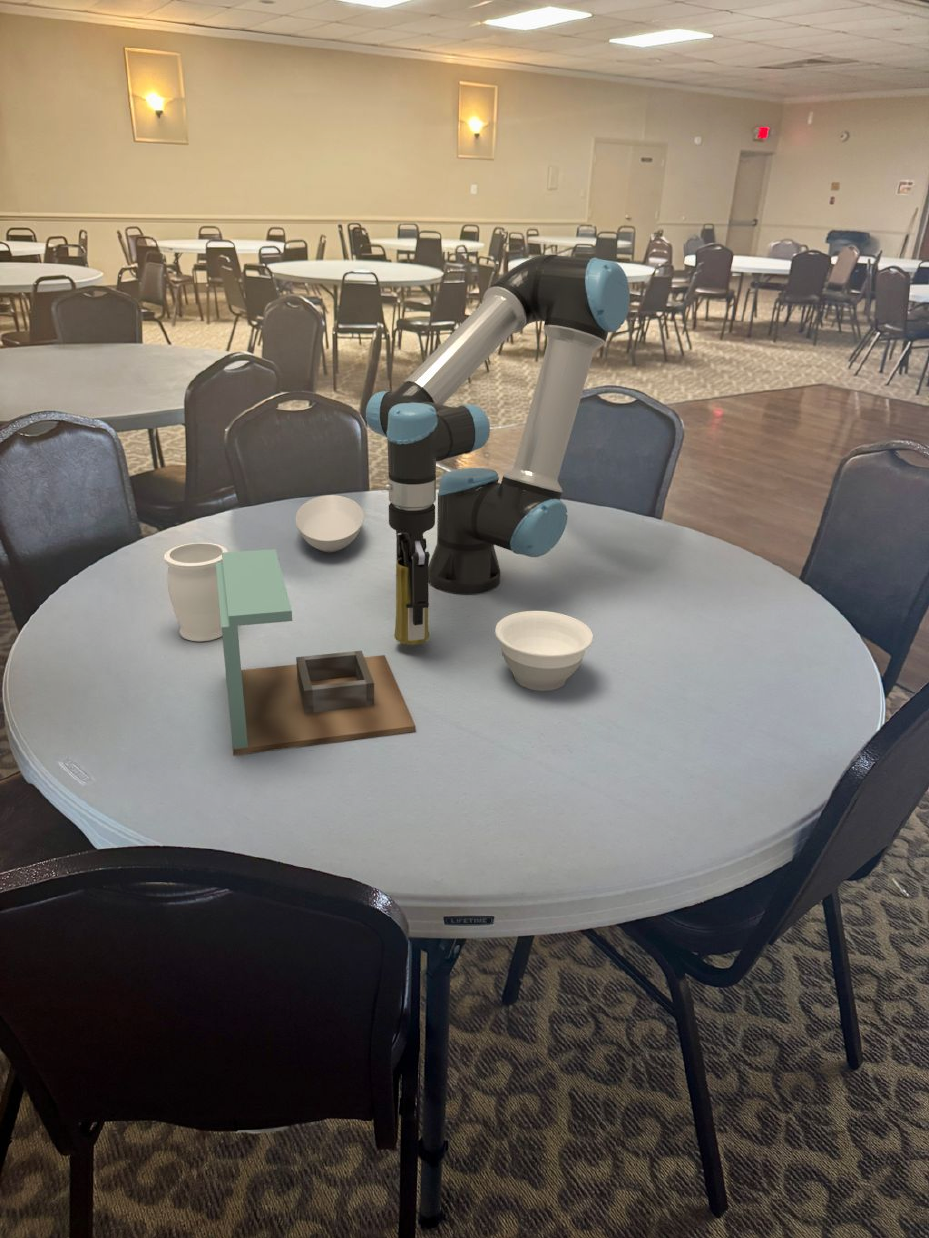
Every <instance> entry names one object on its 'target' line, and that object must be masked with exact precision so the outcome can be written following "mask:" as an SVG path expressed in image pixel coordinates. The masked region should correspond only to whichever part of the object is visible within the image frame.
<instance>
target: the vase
mask: <svg viewBox="0 0 929 1238" xmlns="http://www.w3.org/2000/svg"><path fill="white" fill-rule="evenodd" d="M395 567H396V569H395V582H396V583H395V607H396V608H395V623H394V624H395V626H394V627H395V628H394V635H393V636H394V637H393V638H394V639H395V640H396V641H397V642H398V643H400V644H403V645H407V646H416V645H421V644H424V643H426V642H427V641H428V640H429V638H430V631H429V630H430V629H429V628H430V627H429V607H428V608H425V639H421V640H412V641H409V640H408V608H406V604H410V597H409V583H408V567H407V566H405V565H404V563H403V562H402V558H399V559H398V560H397V562H396V563H395Z"/></svg>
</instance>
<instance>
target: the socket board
mask: <svg viewBox="0 0 929 1238" xmlns="http://www.w3.org/2000/svg"><path fill="white" fill-rule="evenodd" d="M295 658H296V661H295V662H296V663H295V664H285V665H278V666H276V665H275V666H267V667H265V666H264V667H257V668H246V669H241V673H242V685H243V697H244V708H245V720H246V732H247V744H248V748H240V749H233V748H232V753H233V755H232V756H239V755H246V754H253V753H263V752H269V751H277V750H278V751H279V750H285V749H292V748H300V747H308V746H316V745H323V744H331V743H337V742H338V743H339V742H347V741H355V740H361V739H368V738H369V739H371V738H377V737H384V736H385V737H386V736H392V735H401V734H406V733H407V734H408V733H414V732H416V724H415V722H414V719H413V717H412V715H411V713H410V710H409V708H408V705H407V703H406V701H405V699H404V696H403V694H402V691H401V690H400V687H399V685H398V682H397V680H396V677H395V676H394V674H393V671H392V669H391V666H390V664H389V662H388V659H387V657H386V655H382V654H381V655H373V656H364V653H363V650H355V651H354V650H353V651H344V652H334V653H324V654H314V655H304V656H296V657H295Z"/></svg>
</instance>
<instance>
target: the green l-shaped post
mask: <svg viewBox="0 0 929 1238" xmlns="http://www.w3.org/2000/svg"><path fill="white" fill-rule="evenodd" d="M216 573H217V584H218V595H219V606H220V617H221V628H222V636H221V638H222V639H221V640H222V647H223V657H224V659H223V660H224V668H225V677H226V678H225V680H226V689H227V701H228V709H229V720H230V721H229V722H230V731H231V732H230V734H231V743H232V750H233V749H240V748H248V744H247V732H246V720H245V708H244V697H243V685H242V673H241V670H242V663H241V655H240V654H241V652H240V650H241V649H240V640H239V630H238V629H239V628H238V627H239V626H251V625H262V624H272V623H273V624H274V623H282V622H283V623H285V622H286V623H287V622H293V609H292V607H291V602H290V598H289V595H288V591H287V586H286V583H285V578H284V576H283V571H282V568H281V565H280V560H279V556H278V552H277V550H276V548H273V549H272V548H271V549H259V550H258V549H256V550H245V551H244V550H243V551H242V550H241V551H240V550H239V551H228V552H225V553H222V562H216Z"/></svg>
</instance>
